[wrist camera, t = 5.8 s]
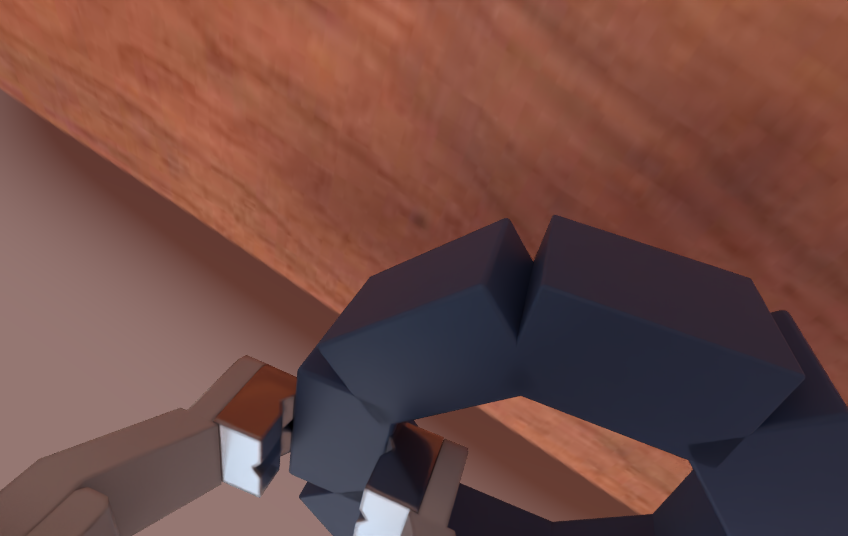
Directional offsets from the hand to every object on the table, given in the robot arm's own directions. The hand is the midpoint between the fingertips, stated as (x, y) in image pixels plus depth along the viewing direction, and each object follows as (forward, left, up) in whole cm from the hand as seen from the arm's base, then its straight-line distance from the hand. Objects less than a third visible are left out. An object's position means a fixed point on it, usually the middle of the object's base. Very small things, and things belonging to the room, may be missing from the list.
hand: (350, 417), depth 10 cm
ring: (-4, 0, -2) cm, 4 cm away
